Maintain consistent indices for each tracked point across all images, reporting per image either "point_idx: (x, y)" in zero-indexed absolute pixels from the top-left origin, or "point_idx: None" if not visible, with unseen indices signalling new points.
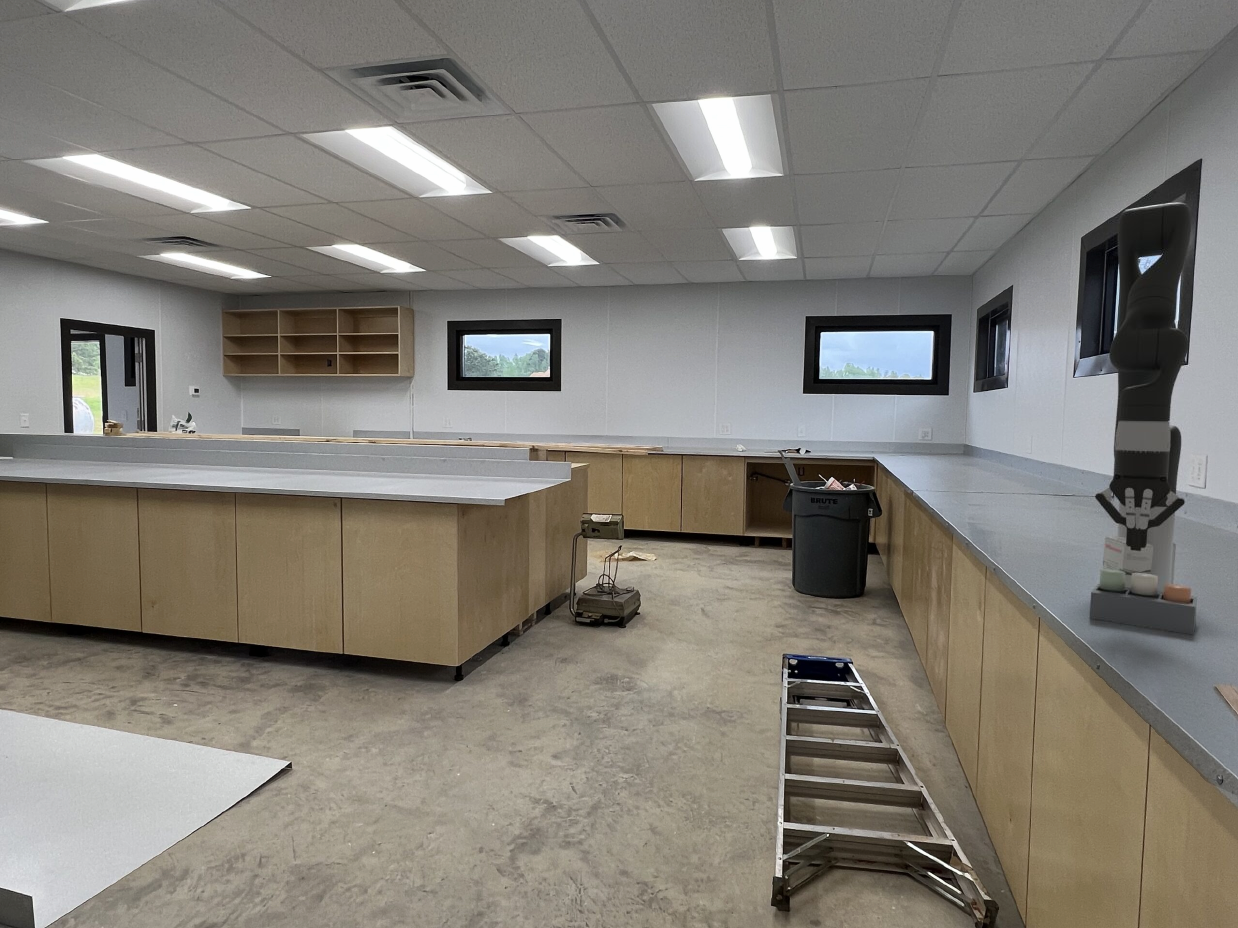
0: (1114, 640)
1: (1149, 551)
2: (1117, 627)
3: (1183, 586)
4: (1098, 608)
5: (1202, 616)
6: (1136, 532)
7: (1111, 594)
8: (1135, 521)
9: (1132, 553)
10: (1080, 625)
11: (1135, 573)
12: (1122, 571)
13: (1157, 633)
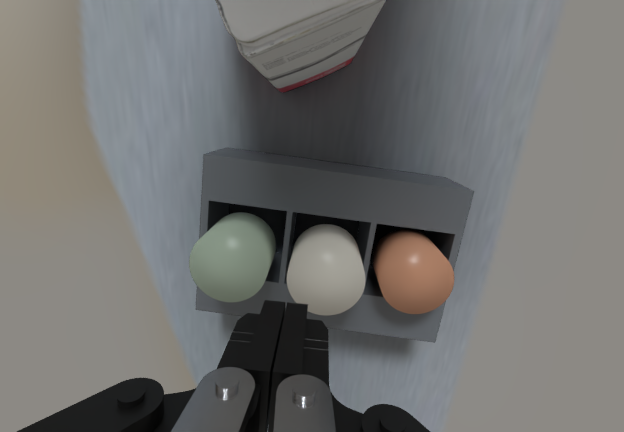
0: None
1: (367, 14)
2: None
3: (436, 261)
4: None
5: (484, 69)
6: (268, 422)
7: (245, 307)
8: (247, 421)
9: (287, 54)
10: (206, 352)
11: (298, 263)
12: (258, 250)
13: (346, 333)
